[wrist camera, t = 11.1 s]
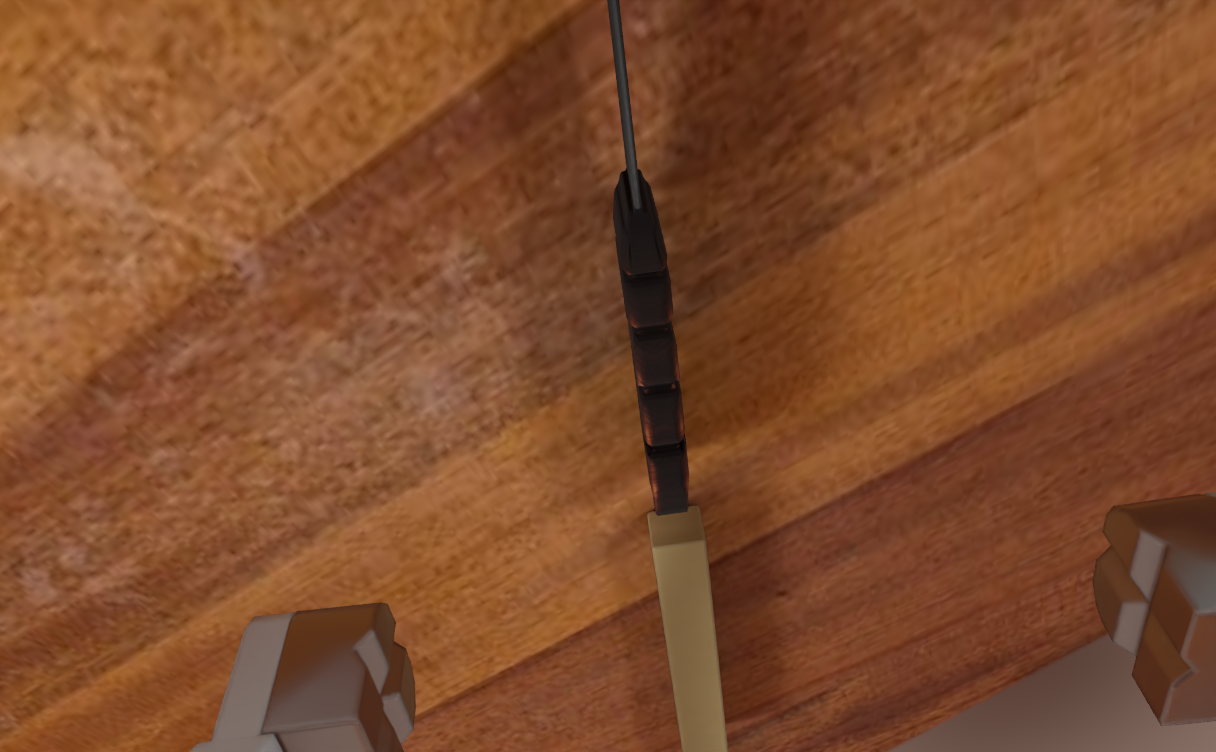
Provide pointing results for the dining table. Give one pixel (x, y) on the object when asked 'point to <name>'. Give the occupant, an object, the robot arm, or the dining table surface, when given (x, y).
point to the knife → (648, 311)
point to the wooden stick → (689, 627)
